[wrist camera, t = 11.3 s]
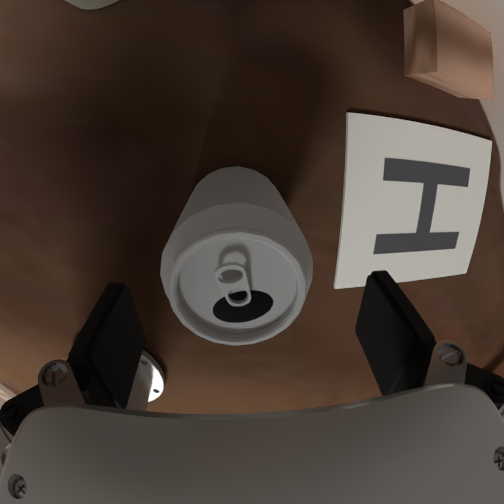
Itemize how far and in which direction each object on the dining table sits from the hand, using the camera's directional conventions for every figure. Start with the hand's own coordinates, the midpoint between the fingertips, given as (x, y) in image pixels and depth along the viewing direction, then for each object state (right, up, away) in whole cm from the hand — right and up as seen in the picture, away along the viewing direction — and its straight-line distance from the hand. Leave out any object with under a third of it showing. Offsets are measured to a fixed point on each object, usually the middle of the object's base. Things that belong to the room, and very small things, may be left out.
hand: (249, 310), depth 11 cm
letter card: (+17, +7, +13) cm, 22 cm away
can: (-1, +6, +12) cm, 14 cm away
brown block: (+17, +20, +6) cm, 27 cm away
